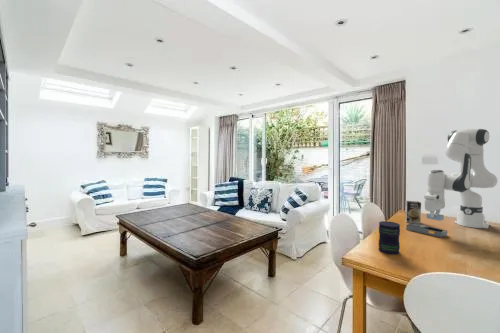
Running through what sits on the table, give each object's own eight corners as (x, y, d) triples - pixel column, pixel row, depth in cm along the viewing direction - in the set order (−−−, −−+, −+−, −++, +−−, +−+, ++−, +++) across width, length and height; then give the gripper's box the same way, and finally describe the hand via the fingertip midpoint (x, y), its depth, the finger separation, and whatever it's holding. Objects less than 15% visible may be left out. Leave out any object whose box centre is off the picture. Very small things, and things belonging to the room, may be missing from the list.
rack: (412, 227, 173) (412, 222, 172) (447, 235, 155) (447, 229, 155) (406, 229, 168) (406, 224, 168) (441, 238, 151) (441, 231, 151)
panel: (430, 217, 162) (430, 212, 162) (443, 219, 155) (443, 214, 155) (426, 218, 159) (426, 213, 159) (440, 220, 153) (440, 215, 152)
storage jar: (399, 256, 124) (400, 227, 123) (377, 252, 129) (378, 224, 128) (399, 250, 132) (400, 222, 131) (379, 246, 137) (379, 220, 137)
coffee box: (406, 222, 186) (407, 201, 185) (404, 220, 192) (405, 200, 191) (420, 223, 182) (421, 202, 181) (418, 221, 188) (419, 201, 187)
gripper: (436, 193, 165) (436, 213, 165) (422, 195, 154) (422, 217, 154) (448, 194, 159) (447, 215, 160) (434, 197, 149) (433, 219, 149)
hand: (435, 216), depth 157 cm, fingers closed on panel, 5 cm apart
